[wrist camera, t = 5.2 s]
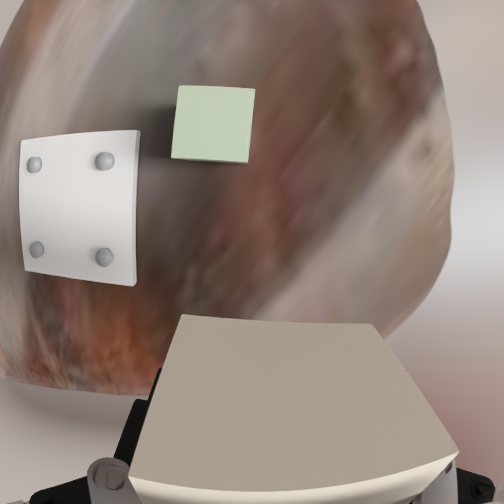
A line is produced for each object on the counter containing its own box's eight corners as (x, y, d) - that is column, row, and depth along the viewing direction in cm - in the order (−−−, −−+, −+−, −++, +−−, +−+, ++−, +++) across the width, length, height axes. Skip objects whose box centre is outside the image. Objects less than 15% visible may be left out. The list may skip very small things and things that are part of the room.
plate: (26, 140, 22) (16, 140, 20) (140, 131, 22) (133, 128, 21) (30, 267, 26) (21, 272, 24) (136, 282, 26) (130, 289, 25)
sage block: (193, 104, 22) (179, 85, 16) (252, 107, 22) (255, 89, 17) (187, 160, 24) (170, 157, 18) (246, 164, 24) (247, 162, 18)
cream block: (182, 314, 9) (127, 476, 3) (371, 323, 9) (459, 451, 4) (188, 435, 11) (171, 549, 5) (328, 437, 11) (357, 542, 6)
